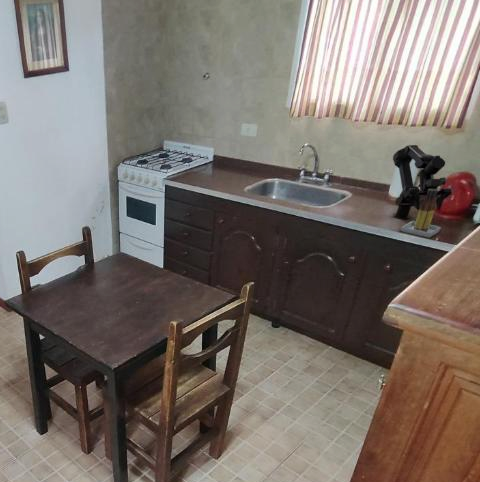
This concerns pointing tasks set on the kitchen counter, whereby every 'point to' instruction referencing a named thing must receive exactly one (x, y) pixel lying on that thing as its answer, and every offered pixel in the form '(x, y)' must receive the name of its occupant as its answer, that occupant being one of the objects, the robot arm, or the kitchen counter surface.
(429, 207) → the sauce bottle
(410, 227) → the grey shallow tray
